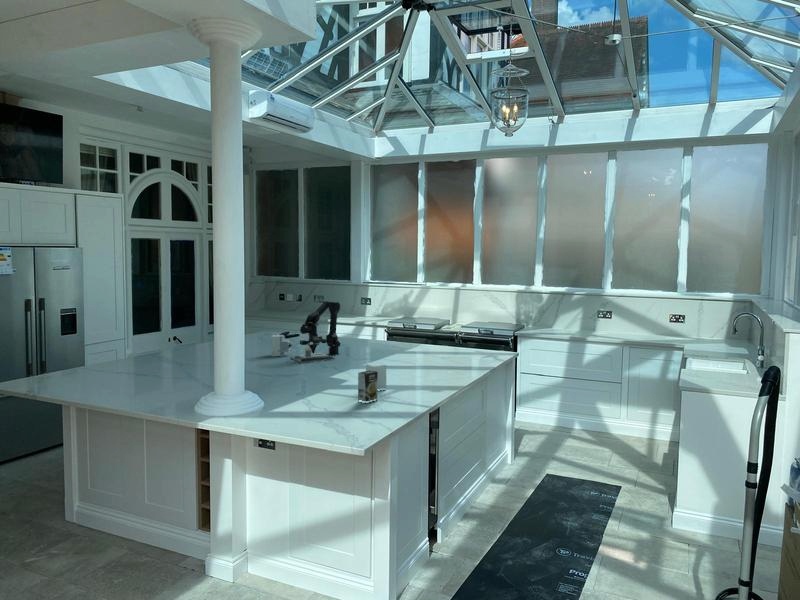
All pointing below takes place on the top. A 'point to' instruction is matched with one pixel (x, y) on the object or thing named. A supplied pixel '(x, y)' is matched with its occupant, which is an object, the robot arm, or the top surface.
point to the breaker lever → (308, 352)
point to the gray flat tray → (313, 358)
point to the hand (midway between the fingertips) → (313, 353)
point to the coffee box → (367, 385)
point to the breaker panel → (311, 357)
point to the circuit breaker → (279, 345)
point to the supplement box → (381, 373)
